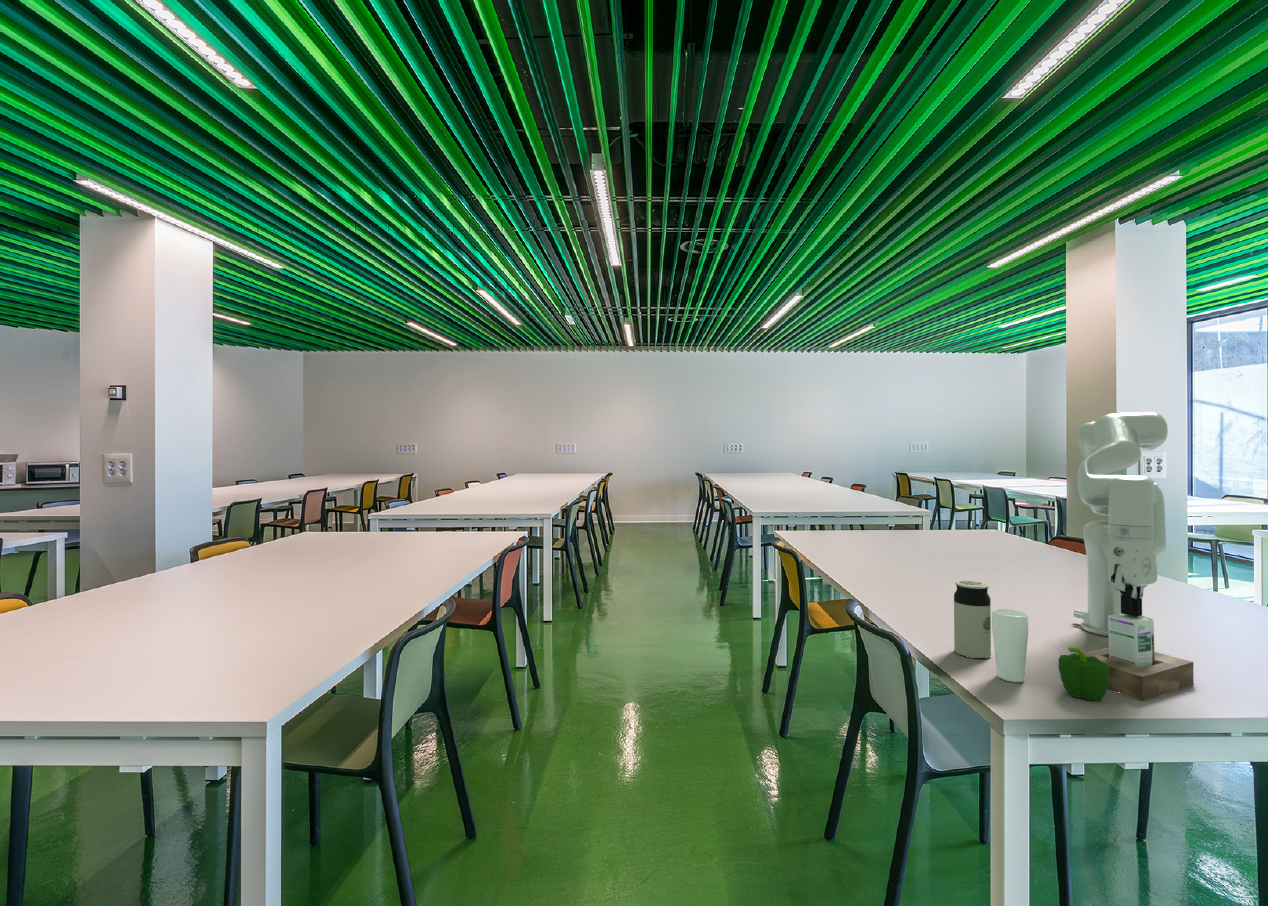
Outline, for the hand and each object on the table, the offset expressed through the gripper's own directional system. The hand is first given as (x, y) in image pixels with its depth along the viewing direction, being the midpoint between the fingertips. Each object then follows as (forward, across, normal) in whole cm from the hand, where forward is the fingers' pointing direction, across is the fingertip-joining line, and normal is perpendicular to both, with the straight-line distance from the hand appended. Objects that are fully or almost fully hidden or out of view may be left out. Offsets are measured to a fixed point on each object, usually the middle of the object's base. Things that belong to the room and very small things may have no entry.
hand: (1131, 614), depth 125 cm
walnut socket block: (+15, 0, 0) cm, 15 cm away
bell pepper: (+15, -18, 0) cm, 23 cm away
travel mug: (+15, -16, +26) cm, 34 cm away
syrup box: (+15, 0, 0) cm, 15 cm away
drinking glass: (+15, -23, +12) cm, 30 cm away
